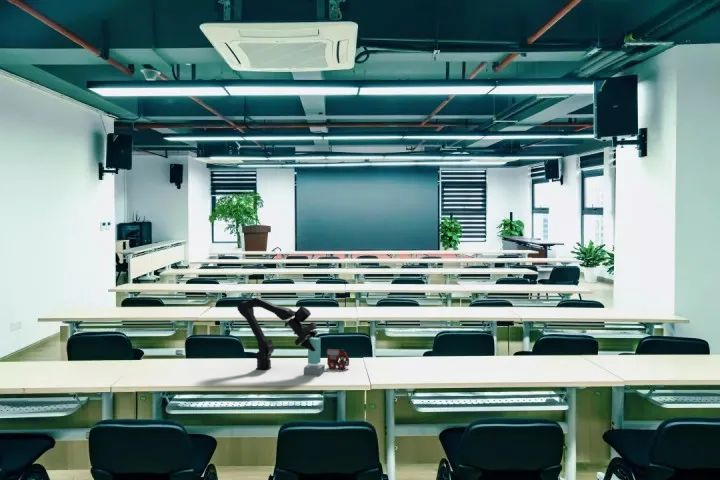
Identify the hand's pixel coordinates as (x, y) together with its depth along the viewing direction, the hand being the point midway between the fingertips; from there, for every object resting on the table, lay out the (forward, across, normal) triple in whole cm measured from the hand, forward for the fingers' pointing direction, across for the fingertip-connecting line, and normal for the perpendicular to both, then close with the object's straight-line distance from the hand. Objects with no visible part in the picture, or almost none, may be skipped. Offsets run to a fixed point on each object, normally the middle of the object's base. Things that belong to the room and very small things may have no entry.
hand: (316, 349), depth 331 cm
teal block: (+4, 0, +6) cm, 7 cm away
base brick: (+8, 0, +10) cm, 13 cm away
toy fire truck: (+13, +15, +4) cm, 21 cm away
